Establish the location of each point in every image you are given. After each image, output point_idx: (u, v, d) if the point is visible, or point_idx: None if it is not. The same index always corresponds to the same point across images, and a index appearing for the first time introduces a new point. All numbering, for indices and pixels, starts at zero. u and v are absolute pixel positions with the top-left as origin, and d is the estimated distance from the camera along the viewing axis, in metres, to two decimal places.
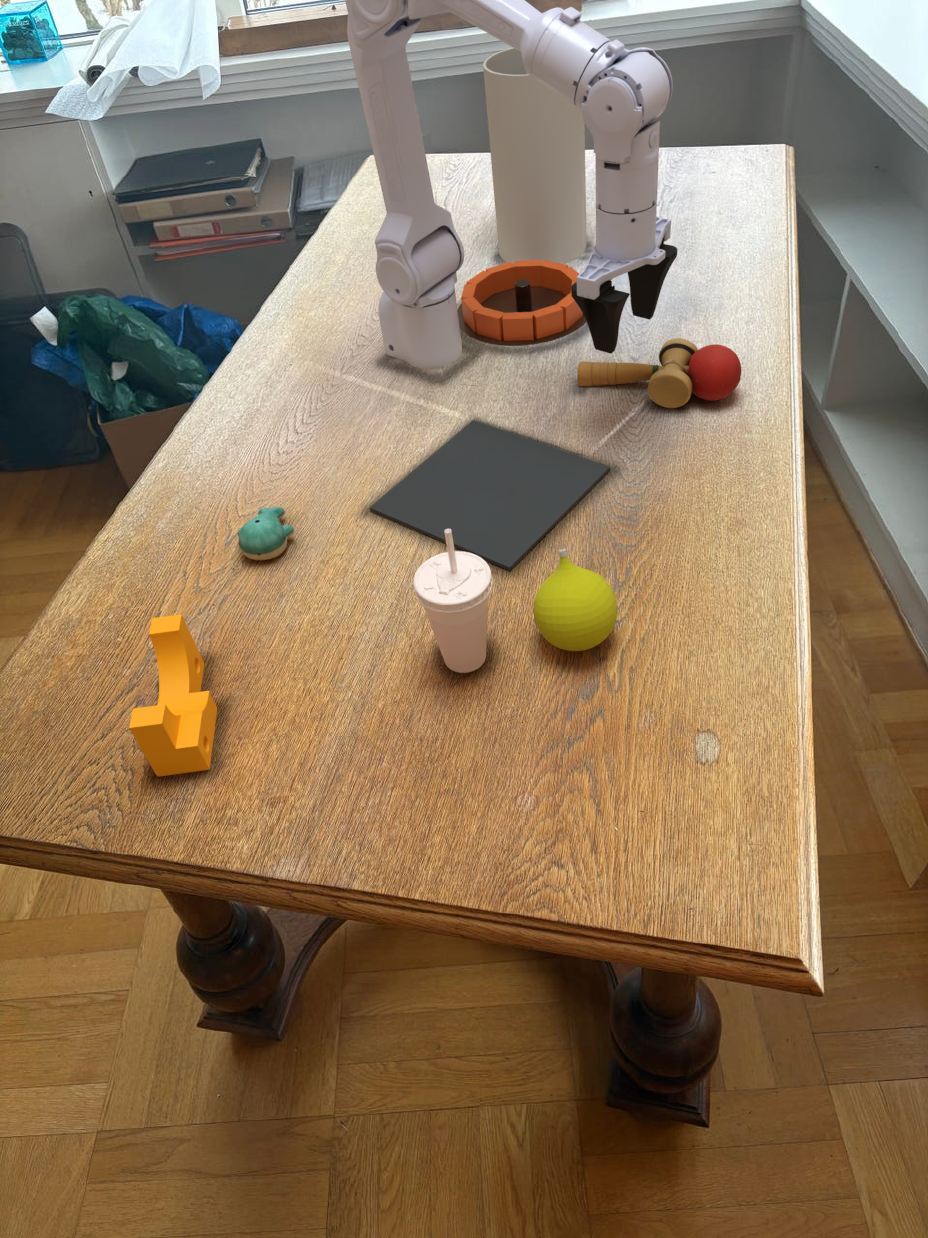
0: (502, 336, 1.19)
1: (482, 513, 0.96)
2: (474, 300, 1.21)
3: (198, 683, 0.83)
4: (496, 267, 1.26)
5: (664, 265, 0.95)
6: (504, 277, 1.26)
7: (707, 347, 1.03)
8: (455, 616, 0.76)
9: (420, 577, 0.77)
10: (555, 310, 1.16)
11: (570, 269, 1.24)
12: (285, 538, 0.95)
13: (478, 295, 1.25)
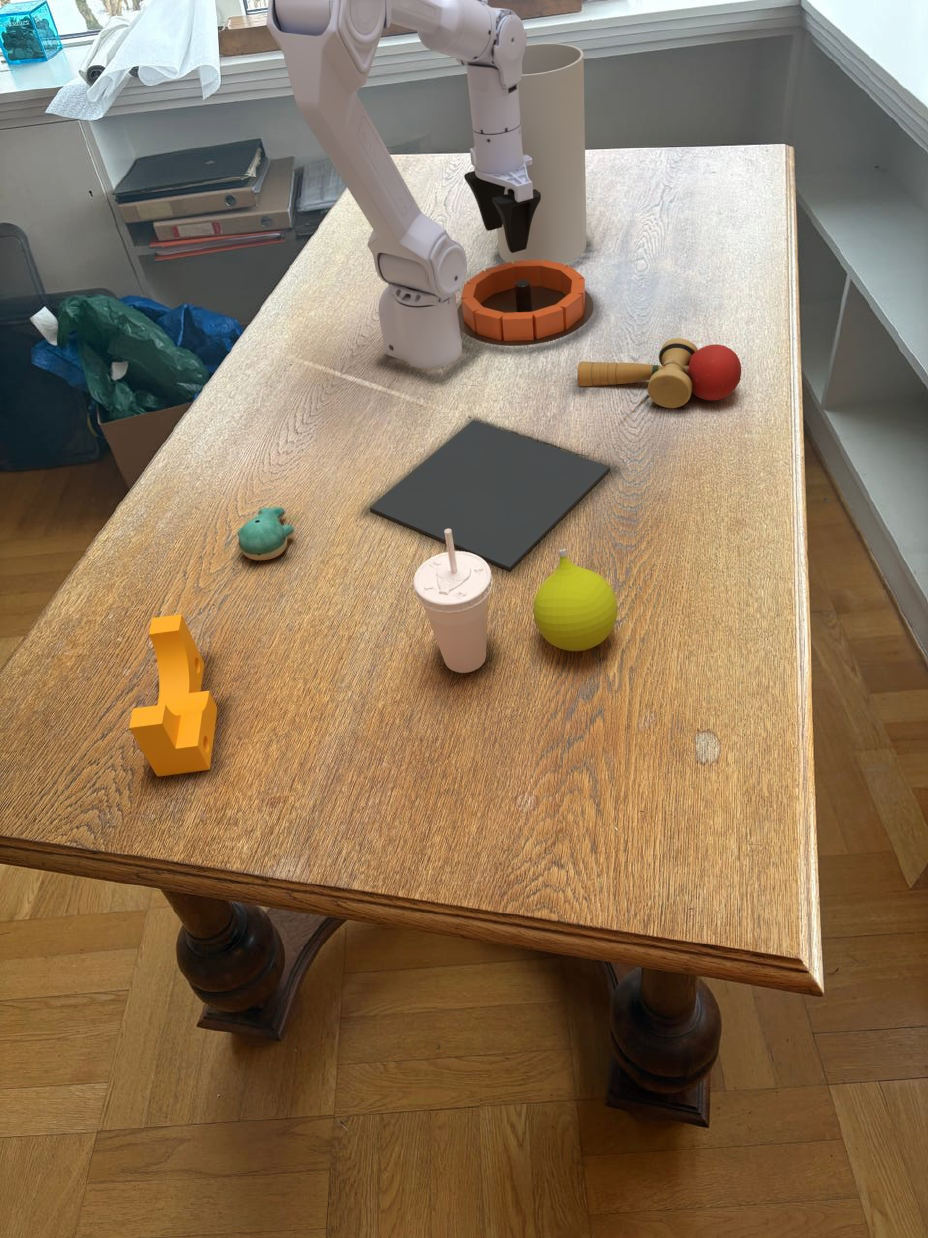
0: (502, 336, 1.19)
1: (482, 513, 0.96)
2: (474, 300, 1.21)
3: (198, 683, 0.83)
4: (496, 267, 1.26)
5: None
6: (504, 277, 1.26)
7: (707, 347, 1.03)
8: (455, 616, 0.76)
9: (420, 577, 0.77)
10: (555, 310, 1.16)
11: (570, 269, 1.24)
12: (285, 538, 0.95)
13: (478, 295, 1.25)
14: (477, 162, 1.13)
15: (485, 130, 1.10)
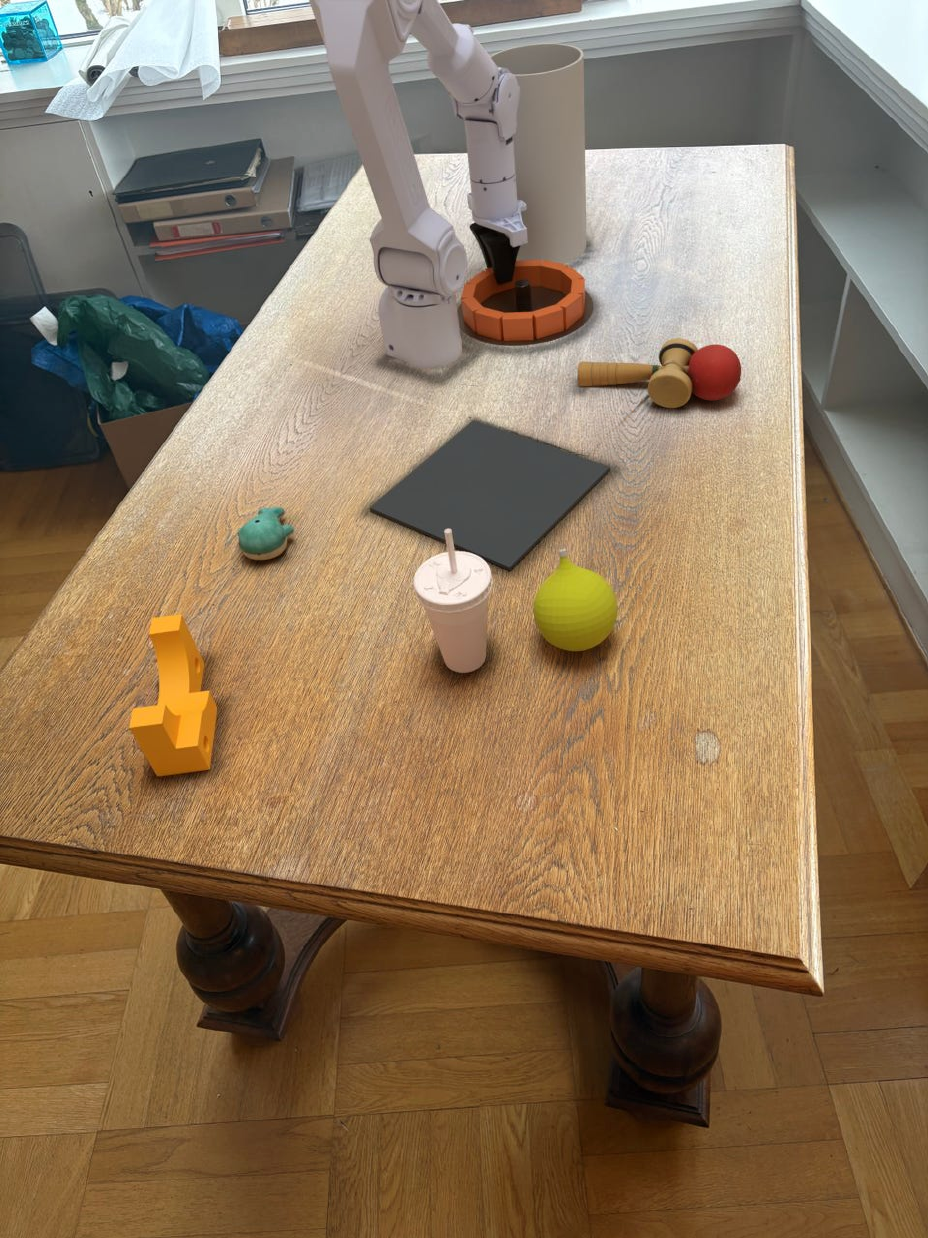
0: (502, 336, 1.19)
1: (482, 513, 0.96)
2: (474, 300, 1.21)
3: (198, 683, 0.83)
4: None
5: None
6: None
7: (707, 347, 1.03)
8: (455, 616, 0.76)
9: (420, 577, 0.77)
10: (555, 310, 1.16)
11: (570, 269, 1.24)
12: (285, 538, 0.95)
13: (478, 295, 1.25)
14: (474, 208, 1.20)
15: (484, 180, 1.16)
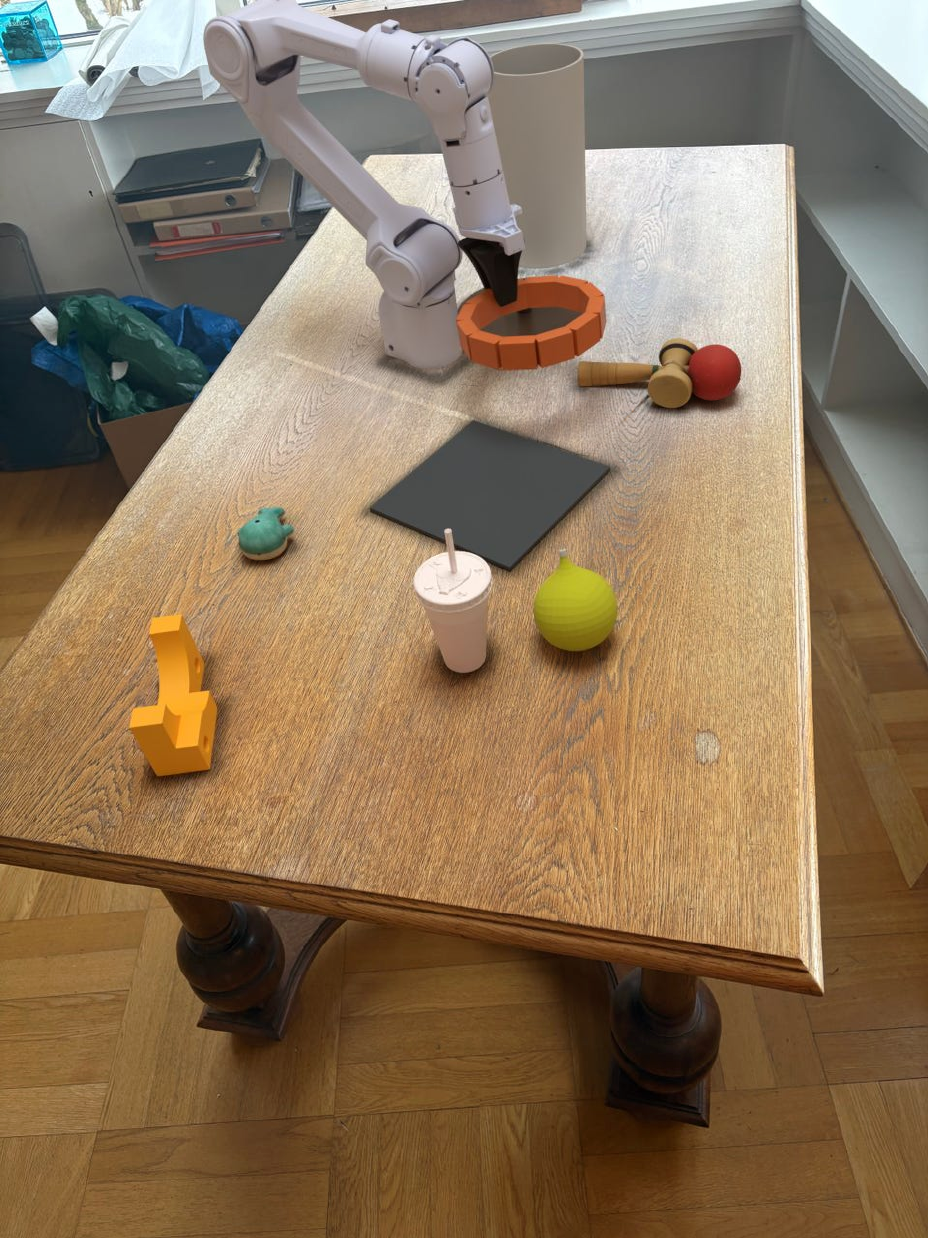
0: (501, 364, 0.99)
1: (482, 513, 0.96)
2: (470, 322, 1.01)
3: (198, 683, 0.83)
4: None
5: None
6: None
7: (707, 347, 1.03)
8: (455, 616, 0.76)
9: (420, 577, 0.77)
10: (563, 333, 0.96)
11: (589, 285, 1.03)
12: (285, 538, 0.95)
13: (480, 317, 1.06)
14: (459, 219, 1.01)
15: None
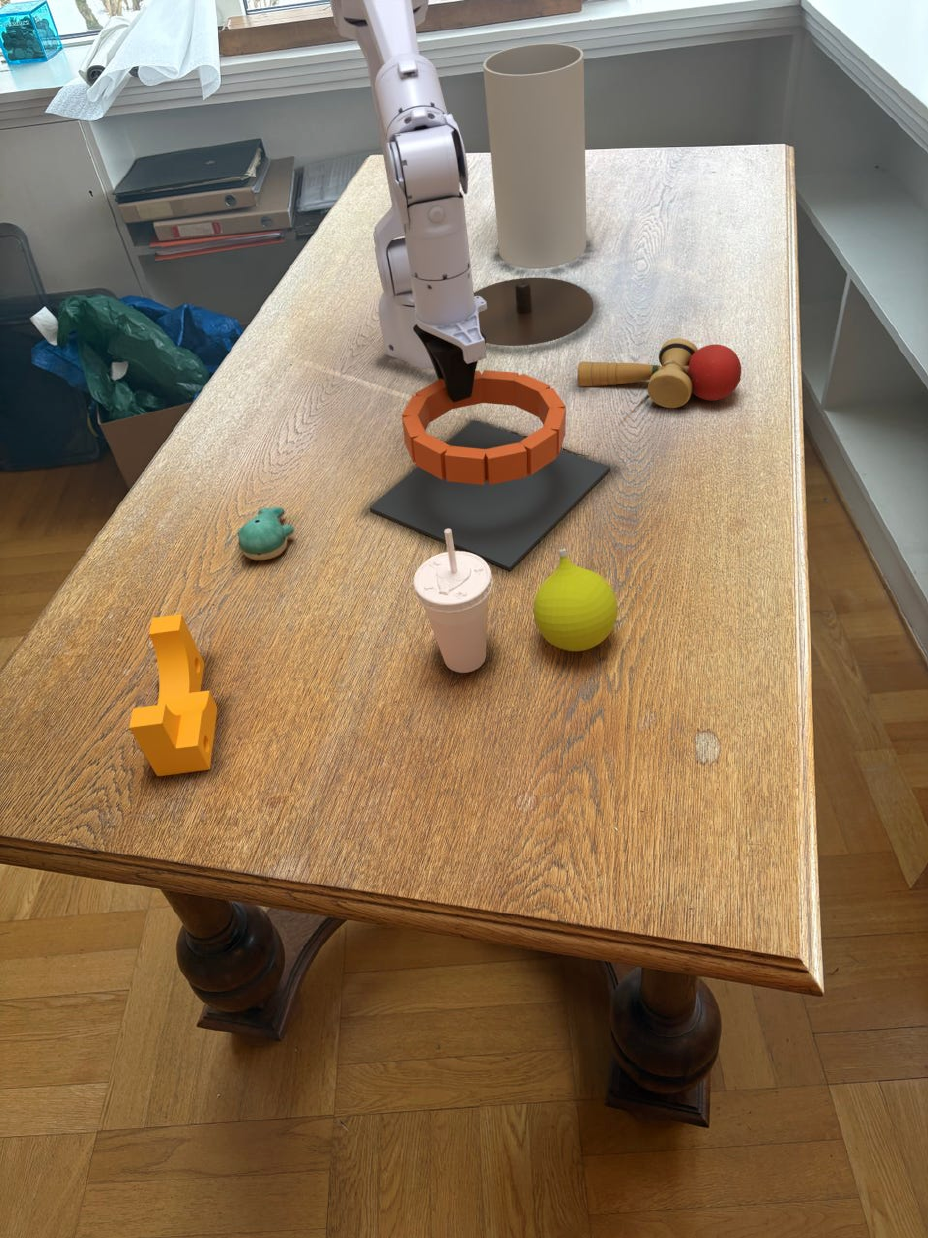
0: (445, 474, 0.90)
1: (482, 513, 0.96)
2: (417, 421, 0.92)
3: (198, 683, 0.83)
4: None
5: None
6: None
7: (707, 347, 1.03)
8: (455, 616, 0.76)
9: (420, 577, 0.77)
10: (516, 451, 0.87)
11: (551, 391, 0.94)
12: (285, 538, 0.95)
13: (429, 411, 0.96)
14: (417, 310, 0.91)
15: None
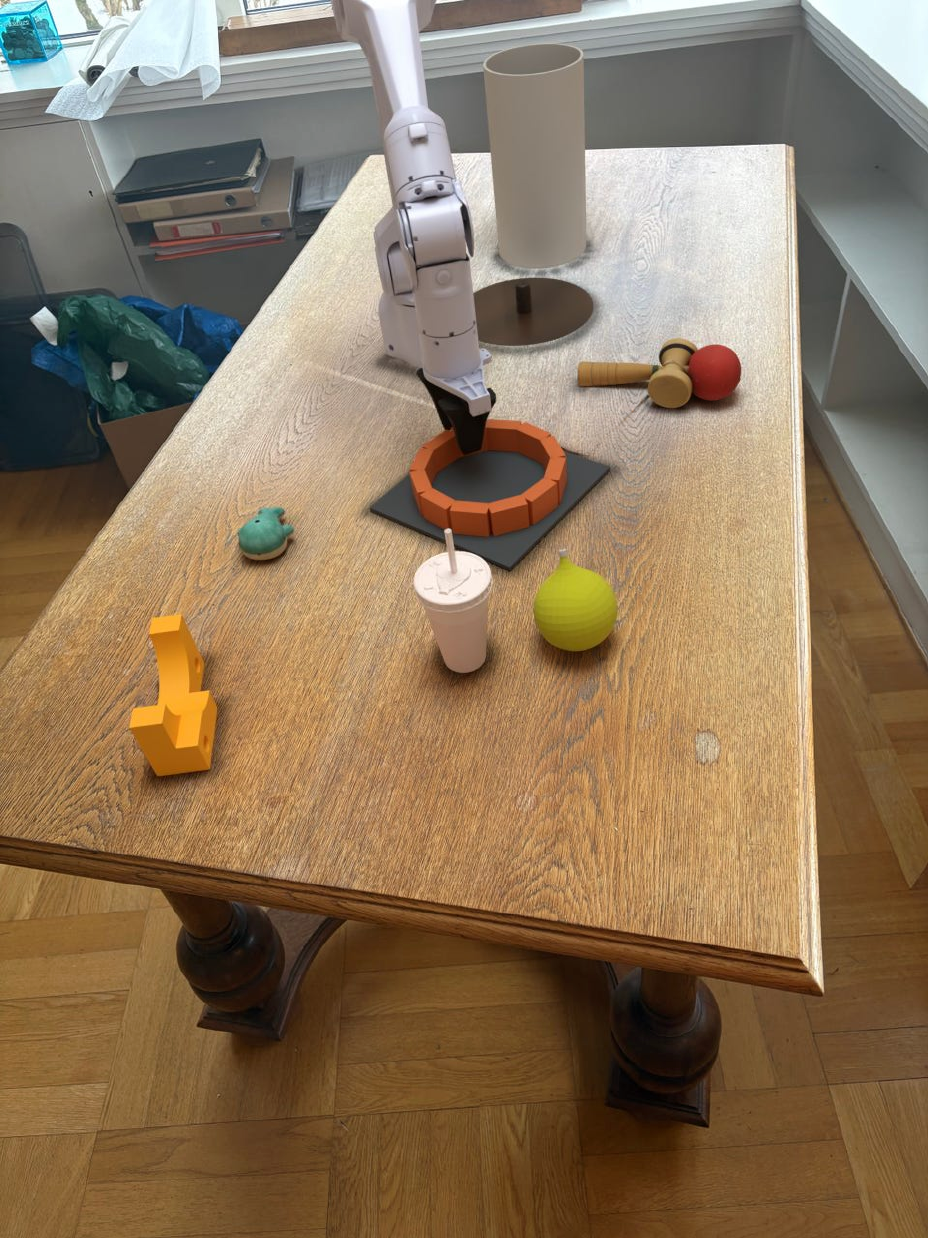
0: (452, 527, 0.94)
1: None
2: (424, 476, 0.96)
3: (198, 683, 0.83)
4: None
5: None
6: None
7: (707, 347, 1.03)
8: (455, 616, 0.76)
9: (420, 577, 0.77)
10: (517, 505, 0.91)
11: (552, 440, 0.98)
12: (285, 538, 0.95)
13: (436, 462, 1.00)
14: (425, 363, 0.94)
15: None
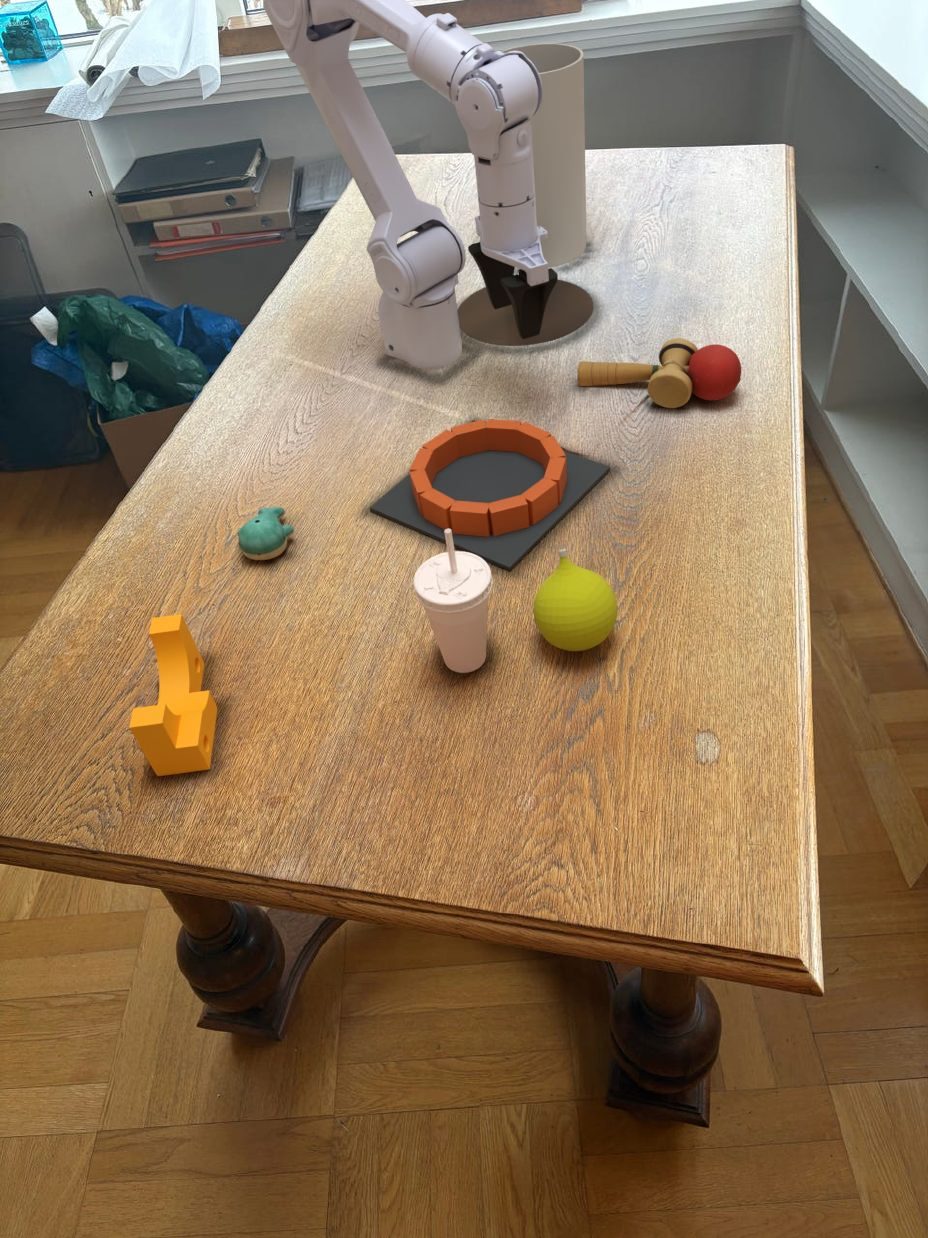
0: (452, 527, 0.94)
1: None
2: (424, 476, 0.96)
3: (198, 683, 0.83)
4: (464, 426, 1.02)
5: None
6: (473, 439, 1.02)
7: (707, 347, 1.03)
8: (455, 616, 0.76)
9: (420, 577, 0.77)
10: (517, 505, 0.91)
11: (552, 440, 0.98)
12: (285, 538, 0.95)
13: (436, 462, 1.00)
14: (483, 237, 0.97)
15: None
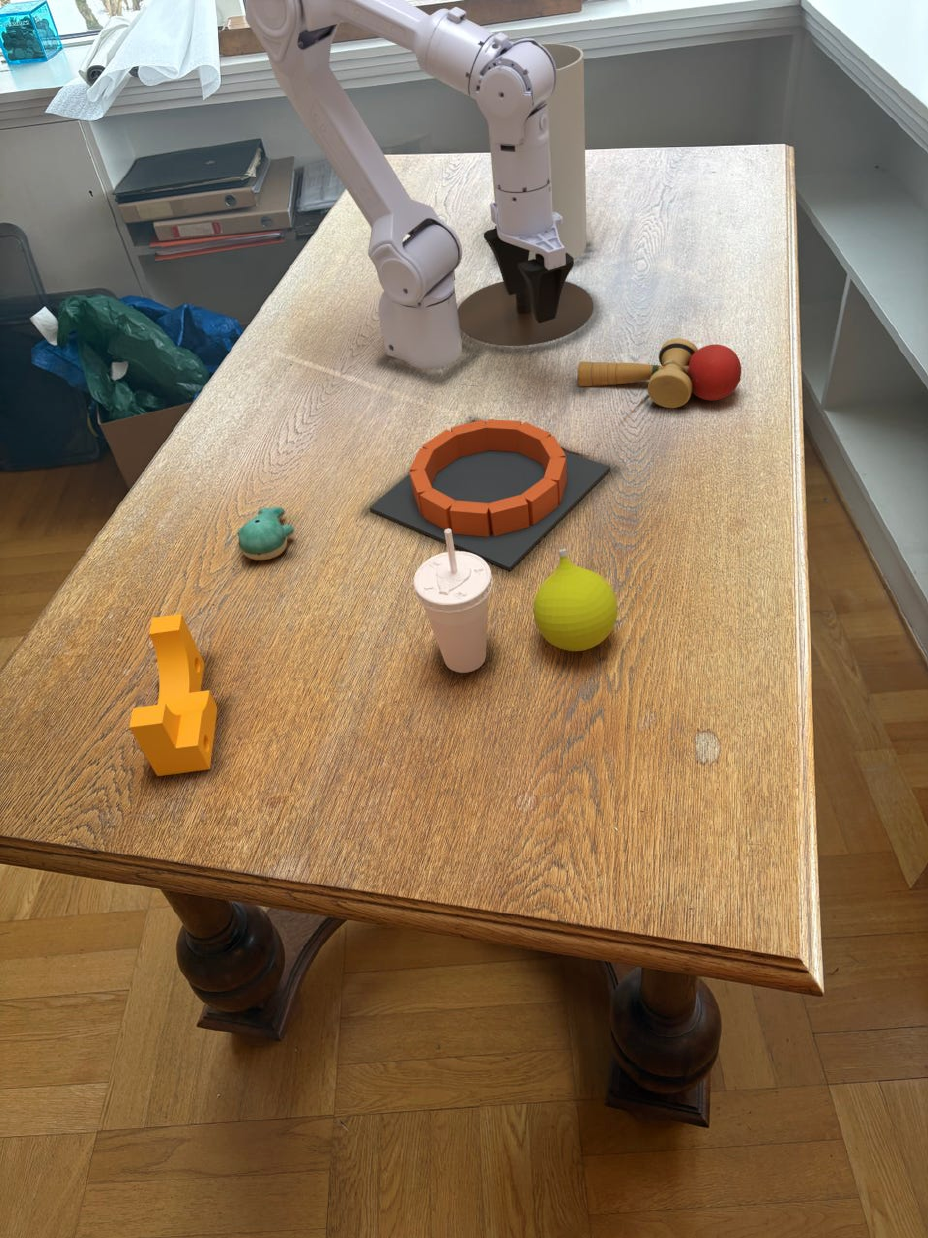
0: (452, 527, 0.94)
1: None
2: (424, 476, 0.96)
3: (198, 683, 0.83)
4: (464, 426, 1.02)
5: None
6: (473, 439, 1.02)
7: (707, 347, 1.03)
8: (455, 616, 0.76)
9: (420, 577, 0.77)
10: (517, 505, 0.91)
11: (552, 440, 0.98)
12: (285, 538, 0.95)
13: (436, 462, 1.00)
14: (500, 222, 0.99)
15: None
